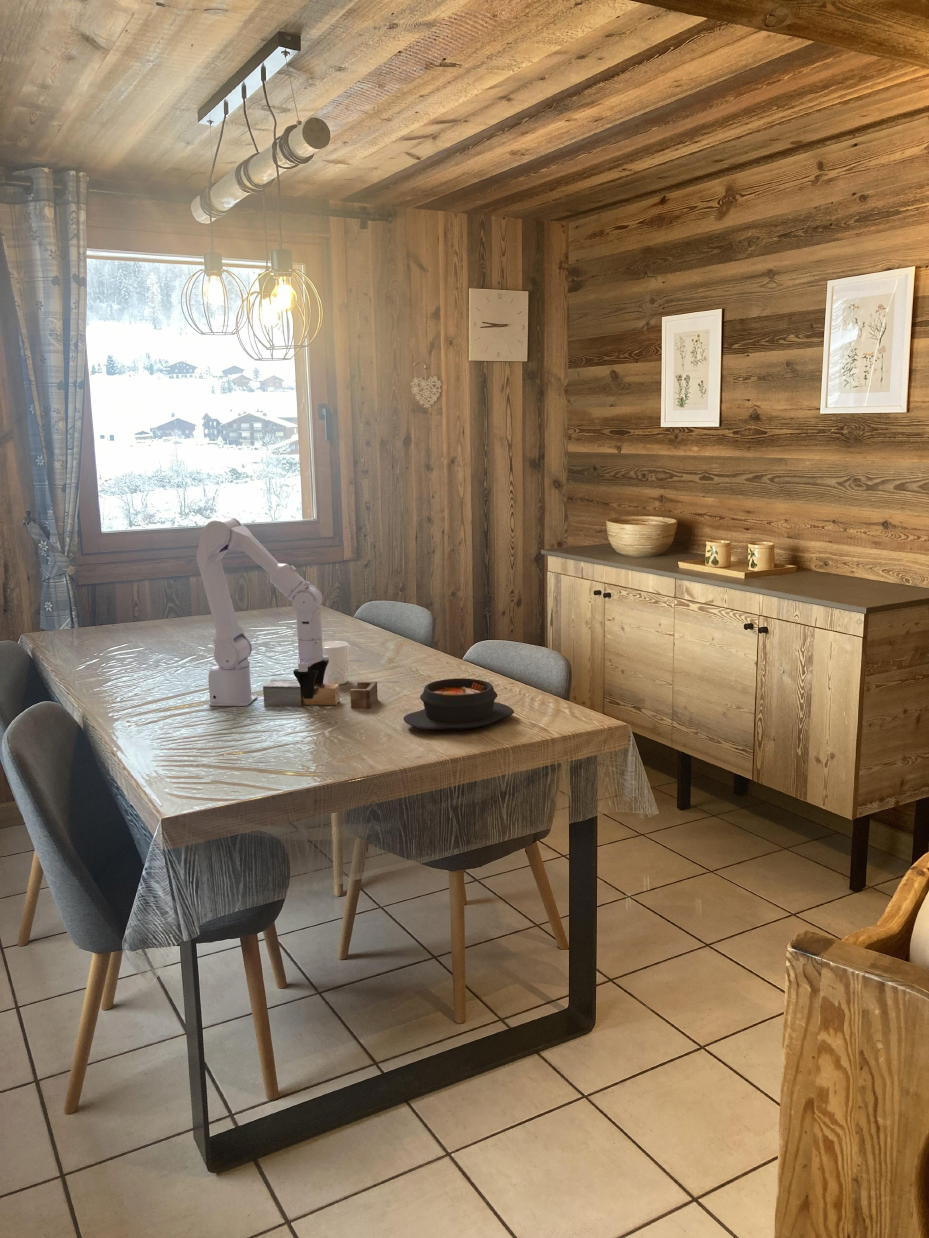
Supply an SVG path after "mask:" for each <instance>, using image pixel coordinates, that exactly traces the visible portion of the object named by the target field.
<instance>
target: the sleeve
mask: <svg viewBox="0 0 929 1238" xmlns="http://www.w3.org/2000/svg"><path fill="white" fill-rule="evenodd" d="M262 690H263V691H262V692H263V693H262V694H263V707H276V708H277V707H278V708H279V707H282V708H283V707H284V708H285V707H286V708H291V707H292V708H302V707H303V704H302V695H301V687H300V684H299V682H298V680H297V679H271V680H269V681H268V682H267V683H266V684H265V685H263V686H262Z"/></svg>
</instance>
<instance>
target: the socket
mask: <svg viewBox="0 0 929 1238" xmlns="http://www.w3.org/2000/svg"><path fill="white" fill-rule="evenodd" d="M356 684H357V687H356V688H351V689H350V692H349V693H350V694H349V695H350V708H351V709H358V710H359V709H362V710H363V709H365V710H366V709H367V710H368V709H369V710H370V709H371V708H372V707H373V706H374V705H375V704H376V702H377V701H378V699H379V698H378V697H379V696H378V681H361V680H359V681H357V683H356Z"/></svg>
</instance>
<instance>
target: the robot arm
mask: <svg viewBox="0 0 929 1238" xmlns="http://www.w3.org/2000/svg"><path fill="white" fill-rule="evenodd" d="M199 537H200V540H199V542H198V543H199V545H198V547H197V552H196V561H197V566H198V570H199V572H200V577H201V580H202V583H203V588H204V591H205V592H204V593H205V596H206V598H207V603H208V606H209V609H210V613H211V617H212V621H213V624H214V628H215V632H214V636H213V644H214V651H213V659H214V661H215V663H216V664H217V665H213V666H211V668H209V669H210V670H209V672H208V693H209V703H208V706H215V707H216V706H220V707H222V706H223V707H224V706H225V707H247V706H249V705H250V704H251V703H252V702H254V701H255V700H256V699H257V698H258V695H256V694H255V695H253V694H252V682H251V669H250V660H249V657H250V656H251V654H252V651H253V645H252V642H251V641H250V640H249V638H247V636H246V634H245V630H244V628H243V627H242V626H241V625H240V624H239V623H238V619H237V615H236V611H235V608H234V605H233V600H232V597H231V593H230V589H229V585H228V582H227V577H226V574H225V571H224V568H223V563H222V559H223V557H224V556H225V555H226V553H227V552H228V550H233V551H242V552H244V553H245V554H246V555H247V556H248V557H250V558H251V559H252V560H253V561H254V562H255V563H257V565H259V566H260V567H261V568H262V569H263V570H265V571H266V573H268V574H269V575H268V576H269V582H270V583H271V584H272V585H274V586H275V587H276V588H277V590H279V591H280V592H281V594H283V595H284V596H285V597H286V598H287V599H288V600H289V601H291V606H292V609H293V610H294V611H295V612H296V613H295V614H296V633H297V635H296V636H297V649H298V650H297V651H298V656H297V662H298V663H297V668H294V669H293V675H294V677H295V679H296V680H298V682H299V684H300V687H301V691H302V694H303V697H304V699H313V697H314V687H315V684H323V680H324V674H325V670H326V667H327V665H328V663H329V660H328V656H324V655H323V646H322V642H323V629H322V618H321V608H320V607H321V605H322V603H323V599H324V598H323V594H322V592H321V590H320V589H319V587H318V586H315V585H313V584H311V583H310V581H308V580H307V581H306V580H305V579H304V578H303V577H302V576H301V575H300V574H299V573H298V572H297V571H296V570H297V568H296V567H295V566H294V565H293V564H292V565H289V564H288V563H280V562H279V561H278V560H277V559H276V558H275V557H274V555H272V554H271V553H270V552H269V551H268V550H267V549H266V548H265V547H264V545H263V544H262V543H260V541H259V540H258V539H257V538H256V537H255V536H254V535H253V533H251V531H250V530H249V529H248V527H247V526H245V525H243V524H242V523H241V522H240V520H238V519H237V518H236V517H231V516H227V517H224V518H221V519H217V520H211V521H209V522H207V524H205V526H204V527H203V529H202V530H201V531H200V532H199Z"/></svg>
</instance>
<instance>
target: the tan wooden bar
mask: <svg viewBox="0 0 929 1238" xmlns="http://www.w3.org/2000/svg"><path fill="white" fill-rule="evenodd" d="M301 695H302V706H303V705H309V706H310V705H314V706H316V705H318V706H326V705H327V706H336V705H337V704H338V703H339V702H340V701H341V698H340V684H315V687H314V697H313V699H304V697H303V694H302V691H301Z"/></svg>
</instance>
